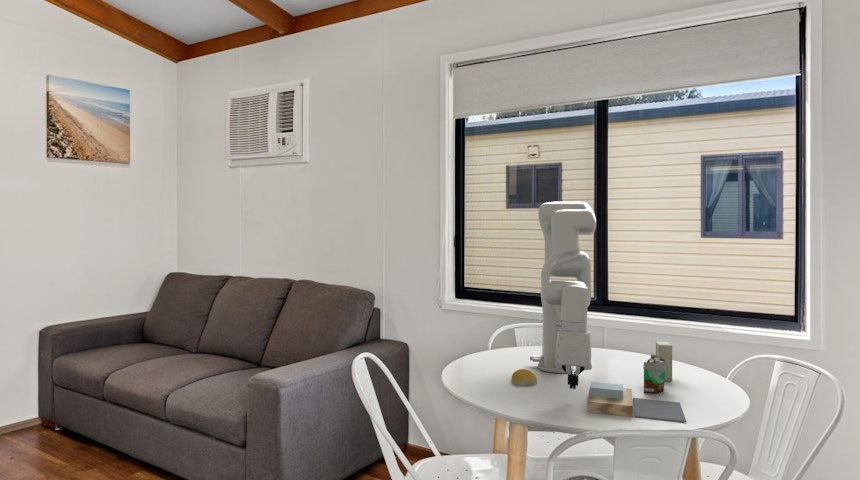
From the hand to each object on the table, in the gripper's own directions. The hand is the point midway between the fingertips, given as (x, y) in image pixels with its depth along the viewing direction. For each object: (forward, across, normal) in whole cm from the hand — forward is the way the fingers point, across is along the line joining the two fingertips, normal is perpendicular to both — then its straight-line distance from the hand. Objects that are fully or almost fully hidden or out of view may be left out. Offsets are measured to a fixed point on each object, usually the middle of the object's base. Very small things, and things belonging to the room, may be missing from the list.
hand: (572, 387), depth 166 cm
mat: (+4, +24, 0) cm, 24 cm away
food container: (+4, +24, +19) cm, 31 cm away
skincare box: (+4, +27, +34) cm, 44 cm away
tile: (+1, +10, 0) cm, 10 cm away
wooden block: (+4, +11, 0) cm, 11 cm away
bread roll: (+5, -17, +14) cm, 23 cm away
